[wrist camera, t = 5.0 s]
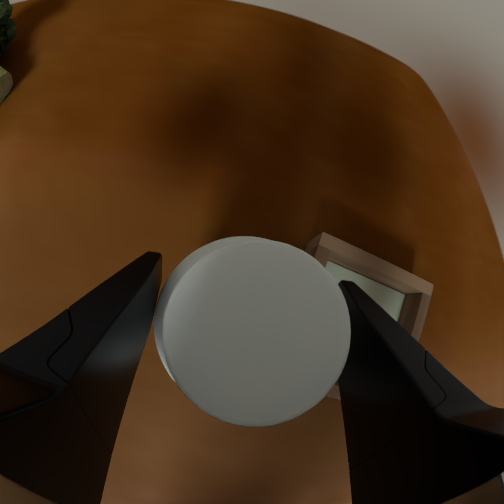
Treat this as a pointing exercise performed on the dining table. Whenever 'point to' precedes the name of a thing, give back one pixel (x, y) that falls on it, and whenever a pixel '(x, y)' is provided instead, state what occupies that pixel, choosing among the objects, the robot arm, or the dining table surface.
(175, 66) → the dining table surface
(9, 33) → the vegetable
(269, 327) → the supplement bottle
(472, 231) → the dining table surface
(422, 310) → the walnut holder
